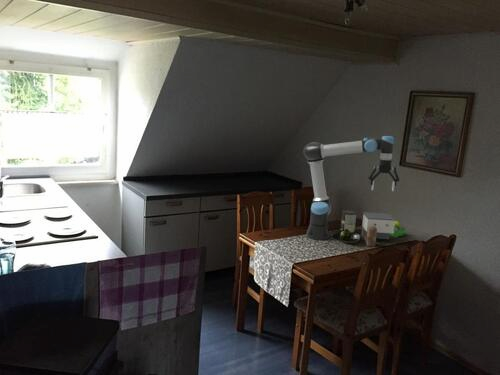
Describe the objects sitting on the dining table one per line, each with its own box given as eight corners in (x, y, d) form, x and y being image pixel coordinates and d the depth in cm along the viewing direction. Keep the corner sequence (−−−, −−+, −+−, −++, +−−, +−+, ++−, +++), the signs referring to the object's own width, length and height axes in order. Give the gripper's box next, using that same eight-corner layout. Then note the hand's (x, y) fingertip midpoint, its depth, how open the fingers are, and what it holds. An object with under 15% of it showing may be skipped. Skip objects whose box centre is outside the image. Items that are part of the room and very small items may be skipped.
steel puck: (353, 240, 287) (354, 236, 286) (352, 238, 291) (353, 234, 291) (360, 240, 287) (360, 236, 286) (359, 238, 291) (359, 234, 290)
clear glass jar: (337, 229, 309) (339, 211, 307) (345, 227, 316) (347, 209, 314) (349, 233, 302) (351, 214, 299) (357, 230, 309) (359, 212, 306)
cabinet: (365, 242, 284) (367, 218, 281) (360, 234, 299) (363, 212, 296) (393, 243, 283) (396, 219, 280) (387, 236, 298) (389, 213, 295)
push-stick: (367, 245, 276) (369, 228, 274) (362, 238, 291) (364, 222, 288) (375, 246, 276) (377, 228, 273) (370, 239, 291) (371, 222, 288)
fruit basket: (396, 237, 297) (398, 222, 295) (385, 234, 304) (387, 219, 302) (405, 235, 303) (407, 220, 301) (395, 232, 310) (397, 217, 308)
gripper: (367, 159, 278) (364, 190, 282) (406, 161, 276) (402, 192, 280) (365, 157, 285) (362, 188, 289) (403, 159, 283) (399, 190, 288)
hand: (382, 190), depth 285 cm, fingers open, 13 cm apart
